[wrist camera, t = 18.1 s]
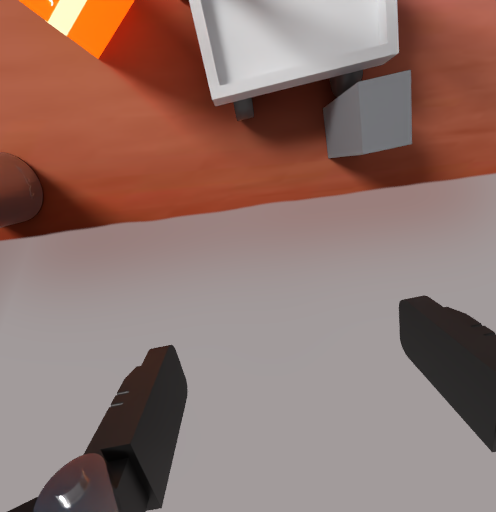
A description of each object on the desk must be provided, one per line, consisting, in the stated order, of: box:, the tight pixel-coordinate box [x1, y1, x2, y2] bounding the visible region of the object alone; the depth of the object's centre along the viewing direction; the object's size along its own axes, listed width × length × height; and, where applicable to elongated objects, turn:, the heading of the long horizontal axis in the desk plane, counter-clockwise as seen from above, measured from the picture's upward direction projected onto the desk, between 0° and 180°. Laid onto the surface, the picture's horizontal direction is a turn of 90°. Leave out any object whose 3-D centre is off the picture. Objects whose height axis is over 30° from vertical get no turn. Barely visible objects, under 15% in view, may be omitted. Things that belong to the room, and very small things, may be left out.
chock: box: [323, 70, 412, 158], centre depth 29 cm, size 4×6×11 cm
